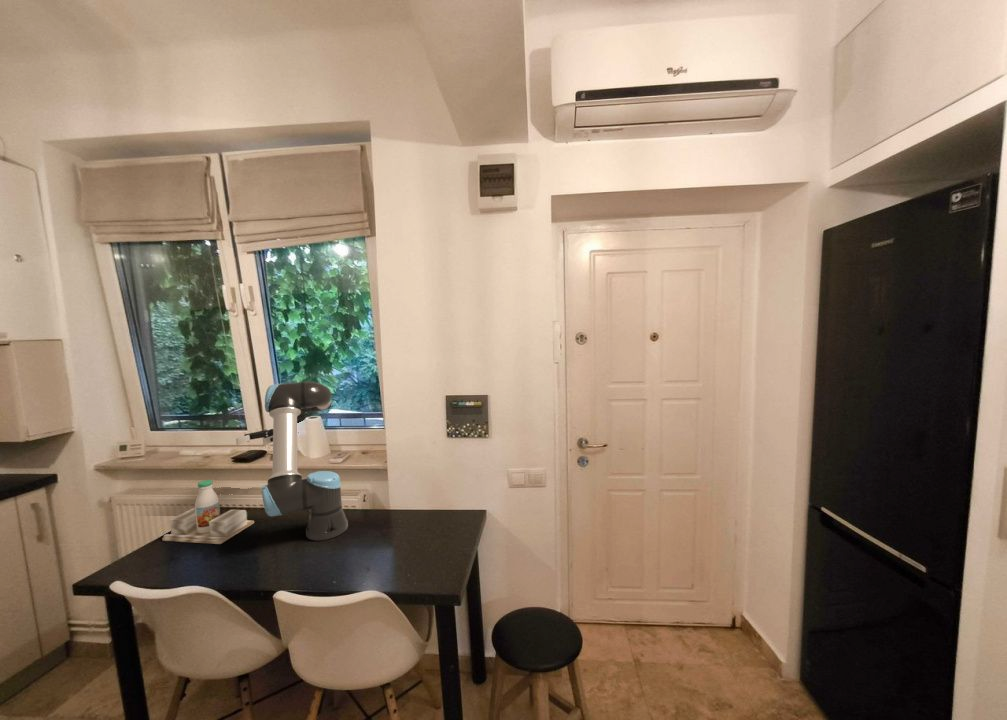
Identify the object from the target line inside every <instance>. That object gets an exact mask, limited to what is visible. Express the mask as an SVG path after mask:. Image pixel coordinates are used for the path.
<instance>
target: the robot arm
mask: <svg viewBox="0 0 1007 720" xmlns="http://www.w3.org/2000/svg"><path fill="white" fill-rule="evenodd" d="M264 396H265V397H264V410H265V412H267V413H269V414H268V415H269V417H271V418H272V420H273V426H272V428H271V429H262V430H259V431H255V432H250V433H245V434H244V436H240V437H237V438H236V439H235V442H236V445H238V446H239V445H242V444H244V443H249V442H250V441H252V440H257V439H262V445H263V446H266V445H268V444H271V443H272V469H271V470H272V474H271V476H270V477H269V478H268V479H267V484H265V485H264V486H262V488H261V494H262V495H261V496H262V503H263V507H264V511H265V514H266V515H267V516H269V517H276V516H283V515H288V514H293V513H297V512H304V511H308V510H309V518H308V520H307V525H306V529H305V536H306V538H307V539H308V540H310V541H325V540H329V539H333V538H336V537H337V536H340V535H341V534H343V533H344V532H346V531H347V530H348V528H349V524H348V523H349V521H348V518H347V516H346V513H345V511H344V510H343V506H342V505H343V503H342V502H343V501H342V491H341V490H342V489H341V487H342V483H341V477H340V475H339V474H338V473H336V472H334V471H331V470H330V471H329V470H319V471H314V472H311V473H309V474H308V475H307V476H306V478H304V479H303V476H302V475H303V474H301V473H299V471H298V433H297V423H299V422H301V421H303V420H304V419H305V418H306V416H307V413H314V412H324V410H326V411H328V410H327V409H329V408H330V407H331V406H332V404H331V397H332V396H333V395H332V391H331V390H330V388H329V387H328V386H326V385H324V384H321V383H319V382H314V381H302V382H301V381H300V382H287V383H282V382H281V383H277V384H276V383H275V384H271V385H269V386H268V388H267V389H266V392H265V395H264Z"/></svg>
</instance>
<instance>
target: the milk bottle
mask: <svg viewBox="0 0 1007 720" xmlns="http://www.w3.org/2000/svg"><path fill="white" fill-rule="evenodd" d="M197 487H198V488H197V489H198V494H197V496H196V499H195V501H194V502H195V503H194V508H195V514H196V525H197V532H198V533H199V534H205V533H210V527H209V521H211V520H213V519H215V518H216V517H218V516H220V515H221V507H220V500H219V496H218V495H217V492H215V490H214V489H213V480H212V479H205V480H202V481H200V482H198V483H197Z"/></svg>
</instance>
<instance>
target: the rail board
mask: <svg viewBox="0 0 1007 720" xmlns="http://www.w3.org/2000/svg"><path fill="white" fill-rule="evenodd" d="M169 524H170V525H169V526H170V534H169V533H166V534H163V537H162V541H163V542H164V541H165V542H180V543H197V544H198V543H199V544H215V545H221V544H223V543H225V542H226V541H228V540H229V539H231V538H233V537H234V536H235V535H237V534H239V533H241V532H242V531H243V530H245V529H247V528H249V527H250V526H252V525H253V524H255V520H252V519H251V520H248V512H247V510H246V509H230V510H228V511H226V512H224V513H222V514H220V516H218V517H216V518H215V519H213V520H211V521H209V527H210V533H205V534H199V533H198V532H197V525H196V514H195V507H193V508H191V509H188V510H186V511H184V512H183V513H181V514H178V515H176V516H174V517H172V518H171V519H169Z"/></svg>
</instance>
